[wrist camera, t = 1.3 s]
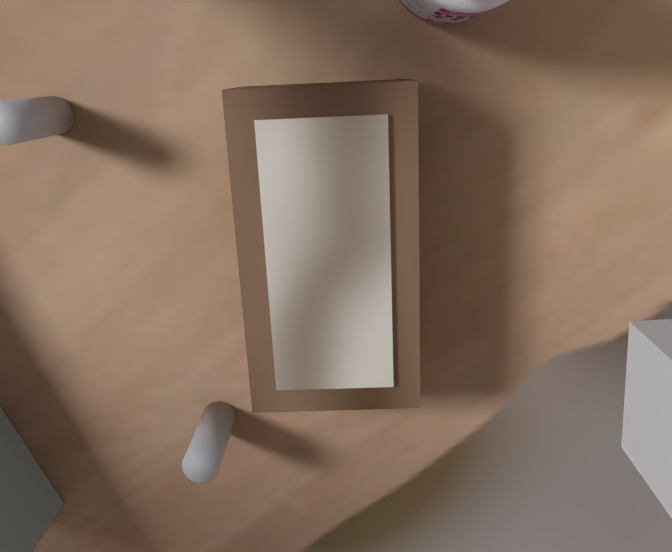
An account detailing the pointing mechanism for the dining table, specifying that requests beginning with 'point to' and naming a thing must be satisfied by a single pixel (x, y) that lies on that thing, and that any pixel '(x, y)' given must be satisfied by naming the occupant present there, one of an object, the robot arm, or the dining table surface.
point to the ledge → (3, 440)
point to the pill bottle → (449, 9)
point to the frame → (328, 242)
